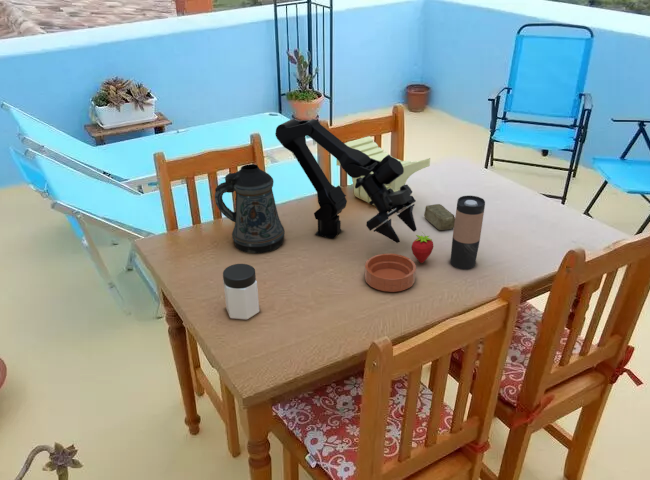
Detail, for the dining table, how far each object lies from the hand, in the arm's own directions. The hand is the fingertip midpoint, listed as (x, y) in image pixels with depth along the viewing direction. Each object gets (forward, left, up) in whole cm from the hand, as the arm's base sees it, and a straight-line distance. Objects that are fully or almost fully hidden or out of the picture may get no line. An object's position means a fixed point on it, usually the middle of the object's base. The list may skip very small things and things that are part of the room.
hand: (407, 236), depth 172 cm
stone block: (+2, +26, -7) cm, 27 cm away
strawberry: (+5, -1, -7) cm, 9 cm away
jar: (-29, -45, -7) cm, 54 cm away
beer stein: (-46, -12, -7) cm, 48 cm away
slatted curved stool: (-23, +36, -7) cm, 43 cm away
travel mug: (+16, +4, -7) cm, 18 cm away
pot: (0, -14, -7) cm, 16 cm away
